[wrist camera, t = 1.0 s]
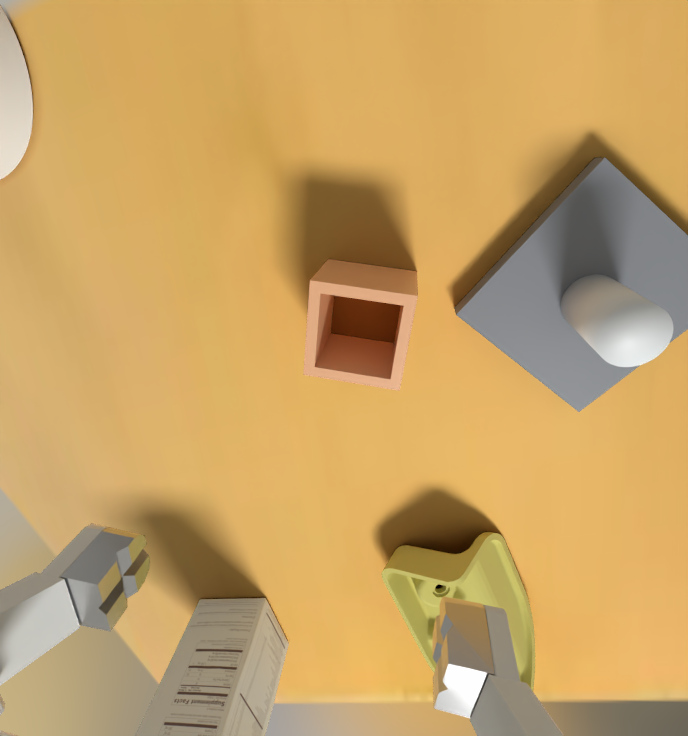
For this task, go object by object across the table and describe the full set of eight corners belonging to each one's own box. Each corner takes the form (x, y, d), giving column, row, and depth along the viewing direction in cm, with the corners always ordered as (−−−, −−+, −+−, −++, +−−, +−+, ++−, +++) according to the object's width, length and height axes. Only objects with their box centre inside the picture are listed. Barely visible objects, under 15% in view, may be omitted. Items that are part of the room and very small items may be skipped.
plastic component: (374, 563, 40) (469, 587, 33) (407, 509, 45) (497, 520, 38) (444, 694, 46) (538, 738, 39) (467, 633, 51) (554, 662, 44)
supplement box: (198, 597, 51) (108, 778, 36) (266, 595, 48) (201, 787, 34) (226, 644, 55) (156, 826, 40) (291, 644, 52) (242, 837, 37)
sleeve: (321, 340, 33) (303, 374, 27) (328, 258, 30) (309, 280, 24) (401, 352, 32) (399, 390, 27) (416, 271, 29) (417, 295, 24)
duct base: (454, 307, 30) (466, 349, 23) (594, 157, 25) (661, 156, 18) (572, 401, 32) (613, 464, 25) (726, 280, 26) (830, 320, 20)
